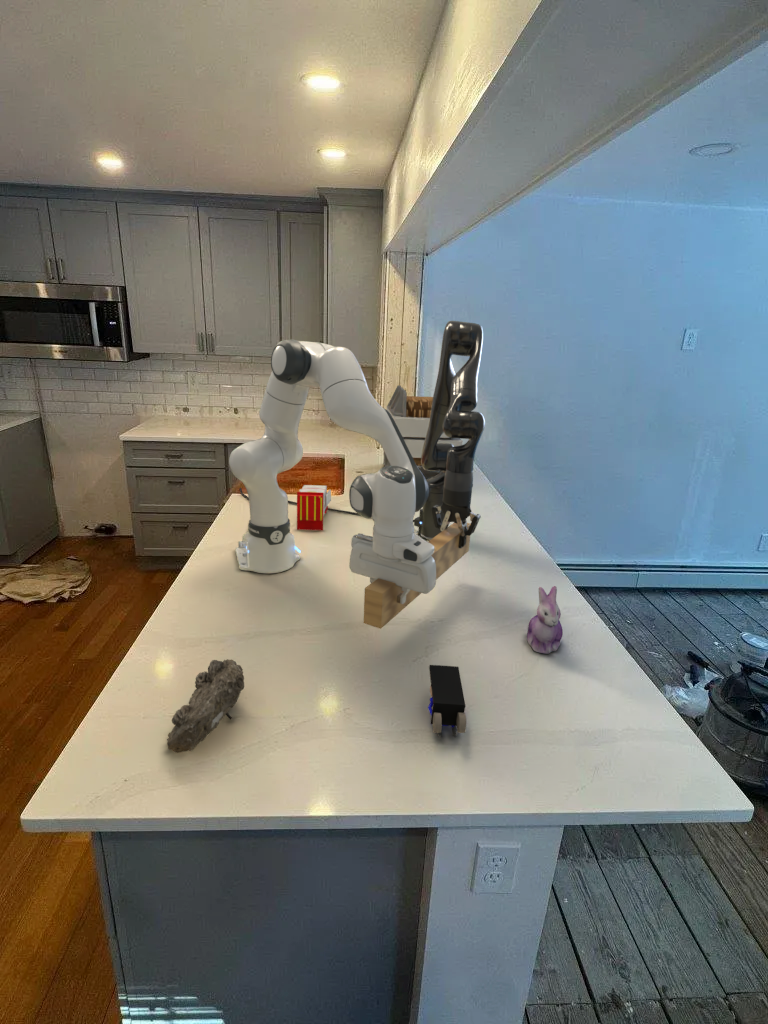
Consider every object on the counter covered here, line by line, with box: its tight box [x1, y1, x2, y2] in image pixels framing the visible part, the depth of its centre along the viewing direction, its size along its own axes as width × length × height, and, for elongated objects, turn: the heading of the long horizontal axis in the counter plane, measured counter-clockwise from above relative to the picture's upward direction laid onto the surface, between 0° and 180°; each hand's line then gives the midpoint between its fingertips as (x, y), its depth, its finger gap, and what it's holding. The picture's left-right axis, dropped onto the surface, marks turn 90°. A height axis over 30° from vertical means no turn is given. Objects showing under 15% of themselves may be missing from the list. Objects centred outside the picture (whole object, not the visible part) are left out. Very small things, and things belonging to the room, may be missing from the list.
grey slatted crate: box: [383, 384, 464, 473], centre depth 268 cm, size 34×33×41 cm
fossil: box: [166, 658, 245, 754], centre depth 106 cm, size 22×10×15 cm
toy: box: [296, 484, 332, 531], centre depth 210 cm, size 12×13×30 cm
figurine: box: [526, 585, 564, 655], centre depth 134 cm, size 9×10×15 cm
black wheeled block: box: [427, 664, 467, 738], centre depth 109 cm, size 7×8×15 cm
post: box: [363, 522, 471, 630], centre depth 141 cm, size 51×4×8 cm, turn 151°
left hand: (389, 599), depth 127 cm, fingers closed on post, 4 cm apart
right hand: (452, 545), depth 156 cm, fingers closed on post, 4 cm apart
